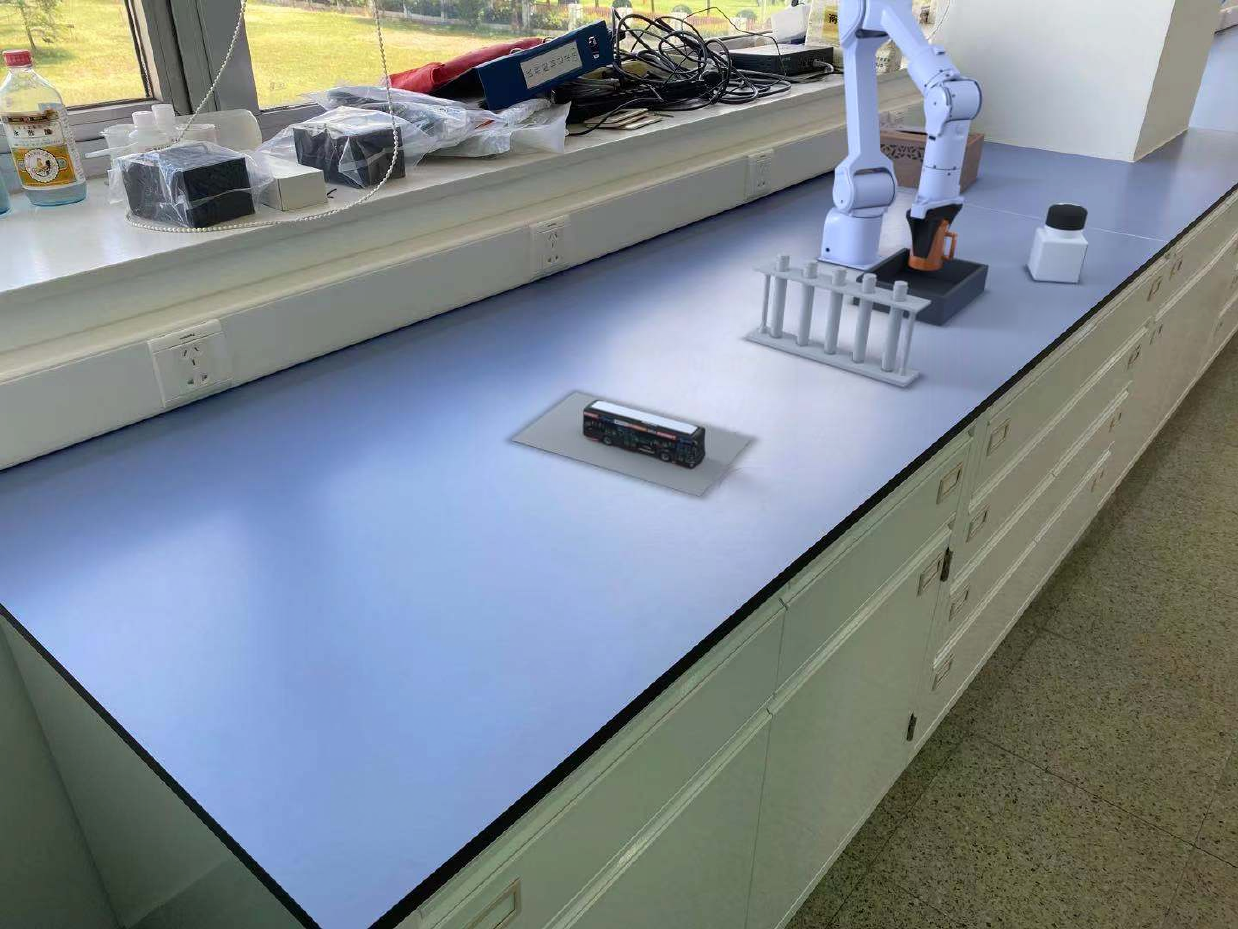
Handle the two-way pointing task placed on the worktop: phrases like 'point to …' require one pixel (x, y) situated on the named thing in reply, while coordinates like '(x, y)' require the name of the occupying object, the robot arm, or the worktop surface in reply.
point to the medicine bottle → (1060, 245)
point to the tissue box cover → (922, 153)
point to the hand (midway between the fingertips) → (927, 252)
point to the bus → (635, 442)
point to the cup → (935, 250)
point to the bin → (930, 285)
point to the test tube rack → (838, 319)
